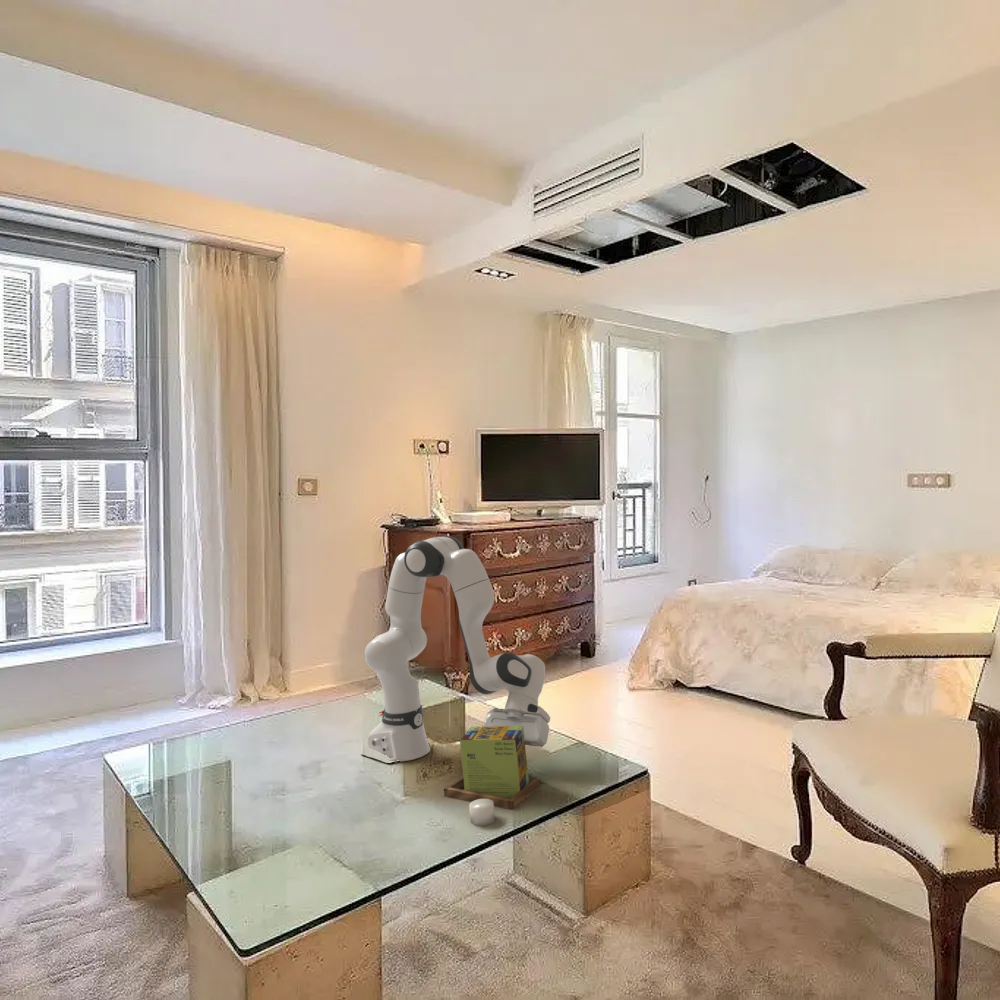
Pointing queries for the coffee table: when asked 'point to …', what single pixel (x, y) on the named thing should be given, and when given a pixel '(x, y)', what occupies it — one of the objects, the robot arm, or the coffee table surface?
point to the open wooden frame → (456, 792)
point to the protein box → (494, 760)
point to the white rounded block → (482, 812)
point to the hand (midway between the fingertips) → (506, 757)
